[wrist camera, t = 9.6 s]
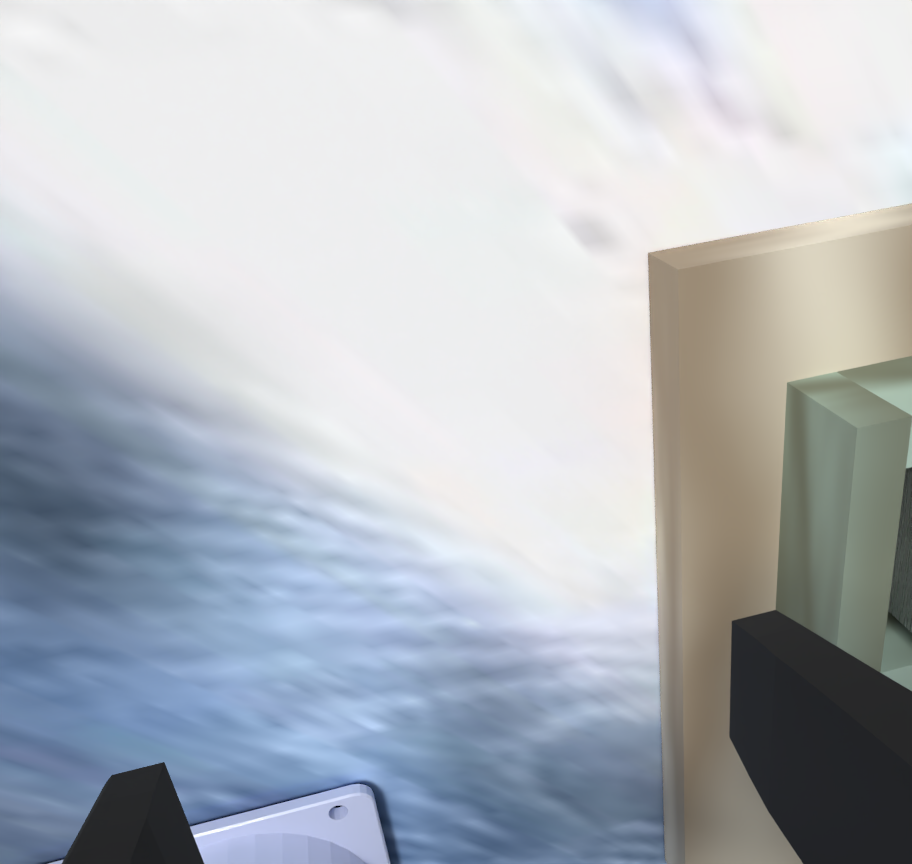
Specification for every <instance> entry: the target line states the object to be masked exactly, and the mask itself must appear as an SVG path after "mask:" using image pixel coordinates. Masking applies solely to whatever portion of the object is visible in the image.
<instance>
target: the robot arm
mask: <svg viewBox="0 0 912 864" xmlns="http://www.w3.org/2000/svg"><path fill="white" fill-rule="evenodd" d="M729 737H730V739H731V741H732V743H733V745H734V747H735V749H736V751H737V753H738V755H739V757H740V759H741V761H742V763H743V765H744V767H745V769H746V771H747V773H748V775H749V777H750V779H751V781H752V782H753V784H754V786H755V788H756V790H757V792H758V794H759V795H760V797H761V799H762V801H763V803H764V805H765V807H766V808H767V810H768V812H769V813H770V815H771V816H772V818H773V819H774V821H775V822H776V824H777V825H778V827H779V829H780V830H781V832H782V833H783V834H784V836H785V837H786V839H787V840H788V842H789V843H790V845H791V846H792V848H793V849H794V851H795V852H796V854H797V855H798V857H799V858H800V860H801V861H802V863H803V864H912V691H911V690H909V689H907V688H906V687H904V686H902V685H900V684H899V683H897V682H895V681H894V680H892V679H890V678H889V677H887V676H885V675H884V674H882V673H880V672H878V671H877V670H875V669H874V668H872V667H870V666H869V665H867V664H865V663H864V662H862V661H860V660H859V659H857V658H855V657H854V656H852V655H850V654H849V653H847V652H845V651H844V650H842V649H840V648H839V647H837V646H835V645H834V644H832V643H830V642H829V641H827V640H826V639H824V638H822V637H821V636H819V635H817V634H816V633H814V632H812V631H811V630H809V629H807V628H806V627H804V626H802V625H801V624H799V623H797V622H796V621H794V620H792V619H791V618H789V617H787V616H785V615H784V614H782V613H780V612H779V611H777V610H773V611H769V612H765V613H761V614H757V615H753V616H749V617H745V618H741V619H737V620H733V621H732V634H731V680H730V726H729ZM339 805H342V806H341V807H339V808H333V807H335V806H339ZM48 864H391V862H390V858H389V854H388V850H387V846H386V842H385V838H384V834H383V830H382V826H381V822H380V818H379V813H378V809H377V805H376V801H375V797H374V793H373V791H372V789H371V788H370V787H368V786H367V785H363V784H352V785H348V786H344V787H341V788H337V789H333V790H329V791H325V792H321V793H317V794H314V795H310V796H306V797H302V798H298V799H294V800H290V801H287V802H283V803H279V804H275V805H271V806H267V807H264V808H260V809H256V810H252V811H248V812H244V813H240V814H237V815H233V816H229V817H225V818H221V819H217V820H214V821H210V822H206V823H202V824H198V825H194V826H189V824H188V821H187V819H186V816H185V814H184V811H183V808H182V806H181V803H180V801H179V798H178V796H177V793H176V791H175V788H174V786H173V783H172V781H171V778H170V776H169V773H168V770H167V768H166V765H165V763H164V762H163V763H159V764H155V765H151V766H147V767H143V768H139V769H135V770H131V771H127V772H123V773H119V774H115V775H112V776H111V777H110V778H109V780H108V781H107V782H106V784H105V785H104V787H103V789H102V791H101V793H100V795H99V796H98V798H97V800H96V802H95V804H94V806H93V807H92V809H91V811H90V813H89V815H88V817H87V818H86V820H85V822H84V824H83V826H82V828H81V829H80V831H79V833H78V835H77V837H76V839H75V840H74V842H73V844H72V846H71V848H70V850H69V851H68V853H67V855H66V857H65V859H63V860H60V861H56V862H52V863H48Z"/></svg>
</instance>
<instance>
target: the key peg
mask: <svg viewBox="0 0 912 864" xmlns="http://www.w3.org/2000/svg"><path fill="white" fill-rule="evenodd" d="M888 611H889V612H890V613H891V614H892V615H893V616H894V617H895V618H896V619H897V620H898V621H899V622H901V623H902V624H903V625H904V626H905V627H906V628H907V629H908V630H909V631H910V632H911V633H912V467H911V468H906V472H905V480H904V488H903V496H902V504H901V512H900V520H899V527H898V535H897V543H896V551H895V559H894V567H893V575H892V583H891V591H890V599H889V607H888Z"/></svg>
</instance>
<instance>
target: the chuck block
mask: <svg viewBox="0 0 912 864" xmlns="http://www.w3.org/2000/svg"><path fill="white" fill-rule="evenodd" d="M648 263H649V299H650V336H651V372H652V409H653V445H654V481H655V518H656V554H657V591H658V627H659V663H660V700H661V736H662V772H663V809H664V845H665V860H666V862H667V864H803V863H802V861H801V860H800V858H799V857H798V855H797V854H796V852H795V851H794V849H793V848H792V846H791V845H790V843H789V842H788V840H787V839H786V837H785V836H784V834H783V833H782V832H781V830H780V829H779V827H778V825H777V824H776V822H775V821H774V819H773V818H772V816H771V815H770V813H769V812H768V810H767V808H766V807H765V805H764V803H763V801H762V799H761V797H760V795H759V794H758V792H757V790H756V788H755V786H754V784H753V782H752V781H751V779H750V777H749V775H748V773H747V771H746V769H745V767H744V765H743V763H742V761H741V759H740V757H739V755H738V753H737V751H736V749H735V747H734V745H733V743H732V741H731V739H730V737H729V726H730V680H731V634H732V621H733V620H737V619H741V618H745V617H749V616H753V615H757V614H761V613H765V612H769V611H773V610H777V611H779V612H780V613H782V614H784V615H785V616H787V617H789V618H791V619H792V620H794V621H796V622H797V623H799V624H801V625H802V626H804V627H806V628H807V629H809V630H811V631H812V632H814V633H816V634H817V635H819V636H821V637H822V638H824V639H826V640H827V641H829V642H830V643H832V644H834V645H835V646H837V647H839V648H840V649H842V650H844V651H845V652H847V653H849V654H850V655H852V656H854V657H855V658H857V659H859V660H860V661H862V662H864V663H865V664H867V665H869V666H870V667H872V668H874V669H875V670H877V671H878V672H880V673H882V674H884V675H885V676H887V677H889V678H890V679H892V680H894V681H895V682H897V683H899V684H900V685H902V686H904V687H906V688H907V689H909V690H911V691H912V633H911V632H910V631H909V630H908V629H907V628H906V627H905V626H904V625H903V624H902V623H901V622H899V621H898V620H897V619H896V618H895V617H894V616H893V615H892V614H891V613H890V612H889V611H888V607H889V599H890V591H891V583H892V575H893V567H894V559H895V551H896V543H897V535H898V527H899V520H900V512H901V504H902V496H903V488H904V480H905V472H906V468H911V467H912V204H907V205H902V206H897V207H891V208H886V209H881V210H875V211H870V212H865V213H859V214H854V215H849V216H843V217H838V218H833V219H827V220H822V221H817V222H811V223H806V224H801V225H795V226H790V227H785V228H779V229H774V230H769V231H763V232H758V233H752V234H747V235H742V236H736V237H731V238H726V239H720V240H715V241H710V242H704V243H699V244H694V245H688V246H683V247H678V248H672V249H667V250H662V251H656V252H651V253H648Z"/></svg>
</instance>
